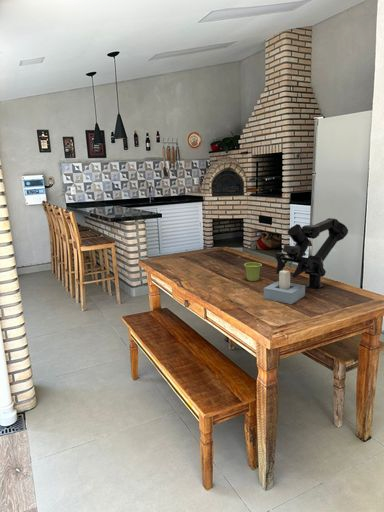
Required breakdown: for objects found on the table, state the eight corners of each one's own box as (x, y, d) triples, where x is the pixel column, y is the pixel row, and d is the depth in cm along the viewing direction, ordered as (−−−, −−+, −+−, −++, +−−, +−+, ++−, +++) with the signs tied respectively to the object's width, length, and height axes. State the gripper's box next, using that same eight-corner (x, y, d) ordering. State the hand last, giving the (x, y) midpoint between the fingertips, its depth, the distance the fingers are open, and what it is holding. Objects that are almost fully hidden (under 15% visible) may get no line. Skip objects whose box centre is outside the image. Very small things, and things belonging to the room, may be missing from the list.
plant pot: (262, 277, 214) (262, 262, 212) (260, 282, 206) (260, 266, 204) (245, 277, 217) (245, 261, 215) (243, 281, 208) (243, 266, 206)
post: (283, 295, 184) (284, 269, 181) (289, 297, 181) (290, 271, 178) (278, 297, 182) (279, 271, 179) (285, 299, 179) (285, 272, 176)
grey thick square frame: (277, 290, 191) (277, 280, 190) (304, 295, 182) (305, 285, 181) (263, 298, 181) (263, 288, 180) (291, 304, 172) (291, 293, 171)
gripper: (276, 235, 186) (261, 262, 182) (310, 240, 172) (294, 269, 168) (287, 249, 192) (272, 275, 188) (320, 255, 178) (304, 283, 174)
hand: (284, 275), depth 179 cm, fingers open, 9 cm apart
